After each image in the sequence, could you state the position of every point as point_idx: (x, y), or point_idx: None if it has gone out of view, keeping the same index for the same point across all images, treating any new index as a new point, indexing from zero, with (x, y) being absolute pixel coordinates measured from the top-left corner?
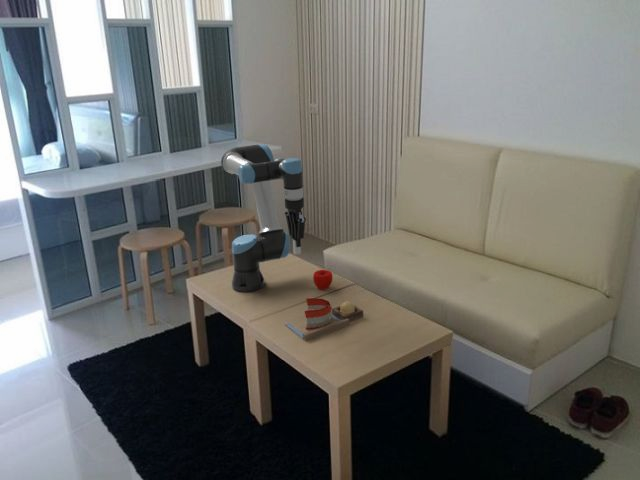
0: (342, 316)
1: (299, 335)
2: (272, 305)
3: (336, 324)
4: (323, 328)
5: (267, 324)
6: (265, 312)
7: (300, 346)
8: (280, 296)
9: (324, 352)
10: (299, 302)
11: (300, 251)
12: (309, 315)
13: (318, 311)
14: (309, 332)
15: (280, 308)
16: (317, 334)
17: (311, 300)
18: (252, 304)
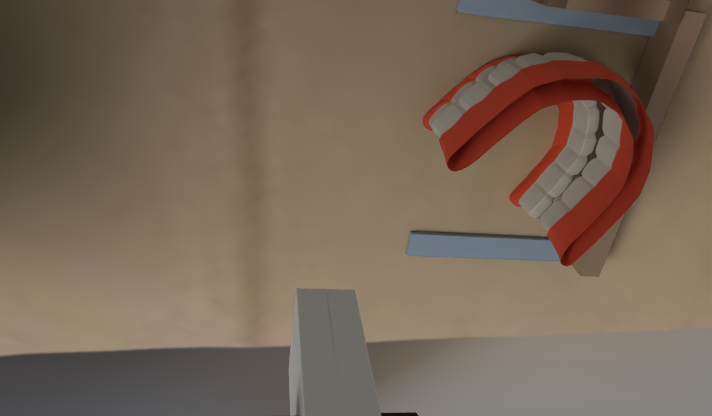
0: (654, 19)
1: (539, 260)
2: (159, 191)
3: (667, 105)
4: None
5: None
6: (216, 258)
7: (594, 293)
8: (59, 84)
9: (705, 250)
10: (230, 42)
11: (359, 319)
12: (579, 238)
13: (628, 207)
14: (599, 249)
15: (227, 177)
16: None
17: (485, 146)
18: (74, 265)
